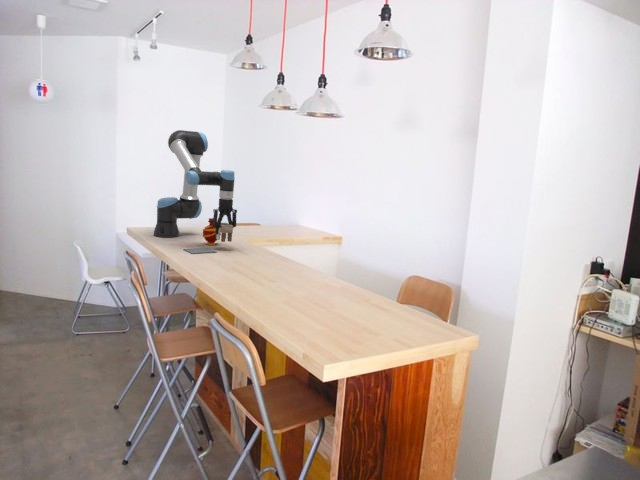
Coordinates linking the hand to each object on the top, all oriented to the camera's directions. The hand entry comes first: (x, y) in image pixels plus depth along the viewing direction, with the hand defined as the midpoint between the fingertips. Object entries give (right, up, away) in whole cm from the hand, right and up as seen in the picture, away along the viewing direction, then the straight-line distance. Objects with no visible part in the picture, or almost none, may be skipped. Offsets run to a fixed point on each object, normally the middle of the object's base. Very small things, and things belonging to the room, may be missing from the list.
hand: (223, 239), depth 272 cm
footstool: (0, 0, 0) cm, 0 cm away
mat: (-11, -6, -10) cm, 16 cm away
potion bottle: (-10, -3, +13) cm, 16 cm away
